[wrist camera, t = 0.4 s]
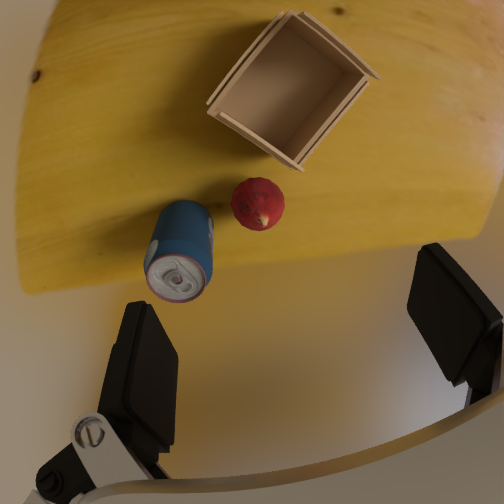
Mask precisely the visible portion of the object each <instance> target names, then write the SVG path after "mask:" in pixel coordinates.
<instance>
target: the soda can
mask: <svg viewBox="0 0 504 504" xmlns="http://www.w3.org/2000/svg"><path fill="white" fill-rule="evenodd" d="M213 229H214V225H213V220H212V217H211V215H210V213H209V212H208V211H207V210H206V209H205V208H204V207H203V206H202V205H200V204H198V203H196V202H193V201H188V200H182V201H176V202H174V203H171V204H170V205H168V206H167V207H166V208H165V209H164V210H163V211H162V212H161V214H160V216H159V219H158V221H157V224H156V227H155V230H154V232H153V235H152V238H151V241H150V244H149V247H148V250H147V253H146V256H145V259H144V272H145V275H146V280H147V284H148V286H149V288H150V290H151V291H152V292H153V293H154V294H155V295H156V296H158V297H159V298H161V299H163V300H165V301H168V302H172V303H185V302H189V301H192V300H194V299H196V298H197V297H198V296H200V295H201V293H202V292H203V291H204V288H205V287H206V286H207V284H208V283H209V281H210V279H211V277H212V271H213Z"/></svg>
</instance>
